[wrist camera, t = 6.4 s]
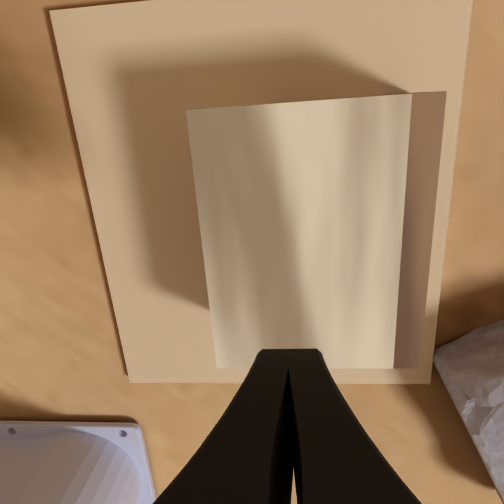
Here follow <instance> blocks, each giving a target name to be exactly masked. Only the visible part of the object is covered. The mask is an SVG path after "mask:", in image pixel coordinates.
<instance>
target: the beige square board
mask: <svg viewBox="0 0 504 504" xmlns="http://www.w3.org/2000/svg"><path fill="white" fill-rule="evenodd" d="M472 2H473V0H147V1H138V2H128V3H119V4H109V5H99V6H90V7H80V8H71V9H61V10H51V11H49V12H50V17H51V22H52V26H53V31H54V35H55V40H56V45H57V49H58V54H59V58H60V63H61V68H62V72H63V77H64V81H65V86H66V91H67V95H68V100H69V104H70V109H71V114H72V118H73V123H74V127H75V132H76V137H77V141H78V146H79V151H80V155H81V160H82V164H83V169H84V174H85V178H86V183H87V187H88V192H89V197H90V201H91V206H92V210H93V215H94V220H95V224H96V229H97V233H98V238H99V243H100V247H101V252H102V256H103V261H104V266H105V270H106V275H107V280H108V284H109V289H110V293H111V298H112V303H113V307H114V312H115V316H116V321H117V326H118V330H119V335H120V339H121V344H122V349H123V353H124V358H125V362H126V367H127V372H128V376H129V381H130V383H243V381H244V379H245V378H246V376H247V374H248V372H249V370H250V368H217V366H216V357H215V349H214V341H213V333H212V324H211V316H210V308H209V299H208V291H207V283H206V274H205V266H204V258H203V250H202V241H201V233H200V225H199V216H198V208H197V200H196V191H195V183H194V175H193V166H192V158H191V150H190V142H189V133H188V125H187V117H186V110H190V109H199V108H208V107H221V106H235V105H249V104H263V103H276V102H290V101H304V100H318V99H331V98H345V97H359V96H373V95H386V94H400V93H416V92H438V91H447V95H446V105H445V115H444V126H443V136H442V146H441V156H440V167H439V177H438V187H437V197H436V208H435V218H434V228H433V238H432V249H431V259H430V269H429V279H428V290H427V300H426V310H425V320H424V330H423V341H422V351H421V361H420V369H328V370H329V372H330V374H331V376H332V378H333V380H334V381H335V383H336V384H430V381H431V372H432V363H433V354H434V345H435V336H436V327H437V318H438V309H439V300H440V291H441V282H442V273H443V264H444V255H445V246H446V237H447V228H448V219H449V210H450V201H451V192H452V182H453V173H454V164H455V155H456V146H457V137H458V128H459V119H460V110H461V101H462V92H463V83H464V74H465V65H466V56H467V47H468V38H469V29H470V20H471V11H472Z"/></svg>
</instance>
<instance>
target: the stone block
mask: <svg viewBox="0 0 504 504" xmlns="http://www.w3.org/2000/svg"><path fill="white" fill-rule="evenodd" d="M433 362H434V364H435V366H436V368H437V370H438V372H439V374H440V376H441V379H442V381H443V383H444V385H445V386H446V388H447V390H448V392H449V394H450V396H451V398H452V400H453V402H454V405H455V407H456V409H457V411H458V413H459V415H460V417H461V419H462V421H463V423H464V425H465V427H466V429H467V431H468V433H469V435H470V437H471V439H472V441H473V443H474V445H475V447H476V449H477V451H478V453H479V455H480V457H481V459H482V461H483V463H484V465H485V467H486V470H487V472H488V474H489V476H490V478H491V480H492V482H493V484H494V486H495V489H496V491H497V493H498V495H499V497H500V499H501V501H502V503H503V504H504V319H503V320H501V321H498V322H495V323H493V324H491V325H488V326H483V327H480V328H478V329H474V330H472V331H470V332H468V333H467V334H465V335H464V336H462V337H460V338H458V339H456V340H454V341H453V342H450V343H447V344H444V345H442V346H439V347H438V348H436V349H435V351H434V354H433Z"/></svg>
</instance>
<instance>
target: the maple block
mask: <svg viewBox="0 0 504 504" xmlns="http://www.w3.org/2000/svg"><path fill="white" fill-rule="evenodd" d="M446 95H447V91H438V92H416V93H400V94H386V95H373V96H359V97H345V98H331V99H318V100H304V101H290V102H276V103H263V104H249V105H235V106H221V107H208V108H199V109H190V110H186V117H187V125H188V133H189V142H190V150H191V158H192V166H193V175H194V183H195V191H196V200H197V208H198V216H199V225H200V233H201V241H202V250H203V258H204V266H205V274H206V283H207V291H208V299H209V308H210V316H211V324H212V333H213V341H214V349H215V357H216V366H217V368H251V366H252V364H253V362H254V360H255V358H256V355H257V353H258V352H259V351H261V350H262V349H311V348H317V349H318V350H319V351H320V352H321V353H322V355H323V358H324V361H325V363H326V365H327V368H328V369H420V361H421V351H422V341H423V330H424V320H425V310H426V300H427V290H428V279H429V269H430V259H431V249H432V238H433V228H434V218H435V208H436V197H437V187H438V177H439V167H440V156H441V146H442V136H443V126H444V115H445V105H446Z"/></svg>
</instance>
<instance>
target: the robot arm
mask: <svg viewBox="0 0 504 504" xmlns="http://www.w3.org/2000/svg"><path fill="white" fill-rule="evenodd" d="M124 431H125V432H124ZM293 467H294V476H295V485H296V495H297V504H421V502H420V501H419V500H418V499H417V498H416V496H415V495H414V494H413V493H412V492H411V490H410V489H409V488H408V487H407V486H406V485H405V483H404V482H403V481H402V480H401V478H400V477H399V476H398V475H397V473H396V472H395V471H394V470H393V468H392V467H391V466H390V464H389V463H388V462H387V461H386V459H385V458H384V457H383V455H382V454H381V453H380V451H379V450H378V448H377V447H376V446H375V444H374V443H373V441H372V440H371V439H370V437H369V436H368V435H367V433H366V432H365V430H364V429H363V427H362V426H361V424H360V423H359V421H358V420H357V418H356V417H355V415H354V413H353V412H352V410H351V409H350V407H349V405H348V404H347V402H346V401H345V399H344V397H343V396H342V394H341V392H340V391H339V389H338V387H337V385H336V383H335V381H334V380H333V378H332V376H331V374H330V372H329V370H328V368H327V365H326V363H325V361H324V358H323V355H322V353H321V352H320V351H319V350H318V349H317V348H311V349H262V350H261V351H259V352H258V353H257V355H256V358H255V360H254V362H253V364H252V366H251V368H250V370H249V372H248V374H247V376H246V378H245V379H244V381H243V383H242V385H241V387H240V388H239V390H238V392H237V393H236V395H235V396H234V398H233V400H232V401H231V403H230V404H229V406H228V408H227V409H226V411H225V412H224V414H223V415H222V417H221V418H220V420H219V421H218V423H217V424H216V425H215V427H214V428H213V430H212V431H211V432H210V434H209V435H208V436H207V438H206V439H205V441H204V442H203V443H202V445H201V446H200V448H199V449H198V450H197V451H196V453H195V454H194V455H193V457H192V458H191V459H190V460H189V462H188V463H187V464H186V465H185V467H184V468H183V469H182V470H181V472H180V473H179V474H178V475H177V476H176V477H175V479H174V480H173V481H172V482H171V483H170V484H169V486H168V487H167V488H166V489H165V490H164V491H163V492H162V494H161V495H160V496H159V497H158V498H157V499H156V495H155V490H154V486H153V481H152V476H151V472H150V467H149V463H148V458H147V453H146V449H145V444H144V439H143V435H142V430H141V428H140V426H139V425H138V424H136V423H122V422H59V421H0V504H291V493H292V480H293Z"/></svg>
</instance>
